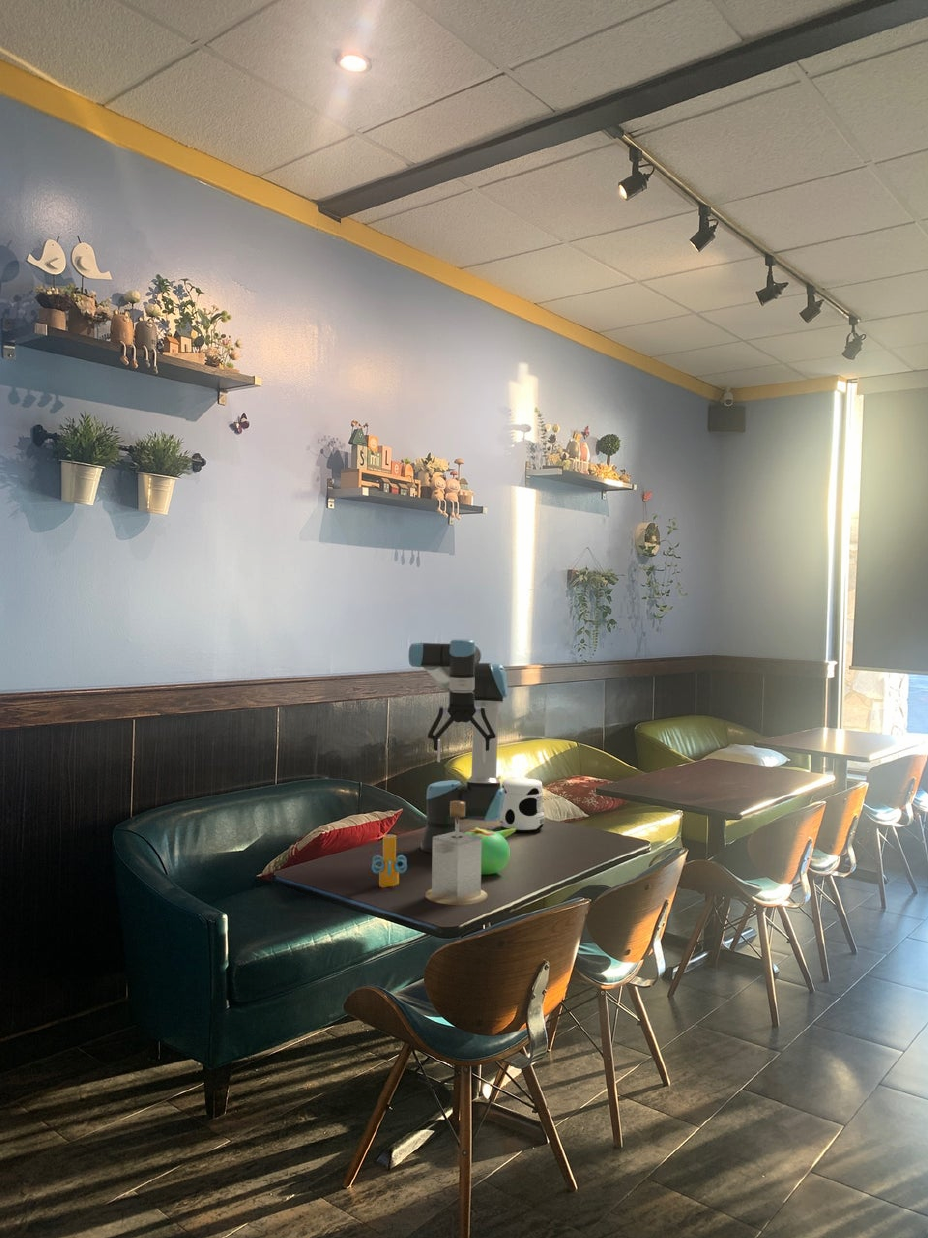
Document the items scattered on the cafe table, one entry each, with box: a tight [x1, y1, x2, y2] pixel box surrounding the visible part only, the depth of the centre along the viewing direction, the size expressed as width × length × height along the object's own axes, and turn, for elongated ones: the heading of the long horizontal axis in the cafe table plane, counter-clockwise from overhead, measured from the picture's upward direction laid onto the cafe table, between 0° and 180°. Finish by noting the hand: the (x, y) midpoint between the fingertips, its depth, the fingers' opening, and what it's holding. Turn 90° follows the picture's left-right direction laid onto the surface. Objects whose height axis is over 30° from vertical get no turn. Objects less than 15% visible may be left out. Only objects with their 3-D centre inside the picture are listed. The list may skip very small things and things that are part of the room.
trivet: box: [424, 888, 488, 906], centre depth 272 cm, size 18×18×1 cm
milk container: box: [498, 777, 546, 833], centre depth 356 cm, size 17×17×18 cm
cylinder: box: [371, 833, 408, 889], centre depth 282 cm, size 12×10×15 cm
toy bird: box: [464, 826, 516, 876], centre depth 297 cm, size 18×17×15 cm
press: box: [431, 831, 482, 902], centre depth 272 cm, size 10×16×17 cm, turn 137°
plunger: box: [450, 801, 465, 839], centre depth 272 cm, size 7×7×20 cm
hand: (461, 761), depth 282 cm, fingers open, 13 cm apart
